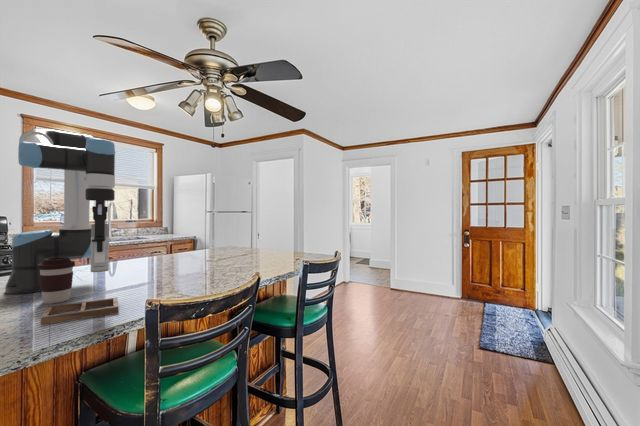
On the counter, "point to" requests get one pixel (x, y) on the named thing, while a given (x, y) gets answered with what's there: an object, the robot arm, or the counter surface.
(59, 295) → the coffee cup
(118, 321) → the counter surface
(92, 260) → the container
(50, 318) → the walnut divider frame
